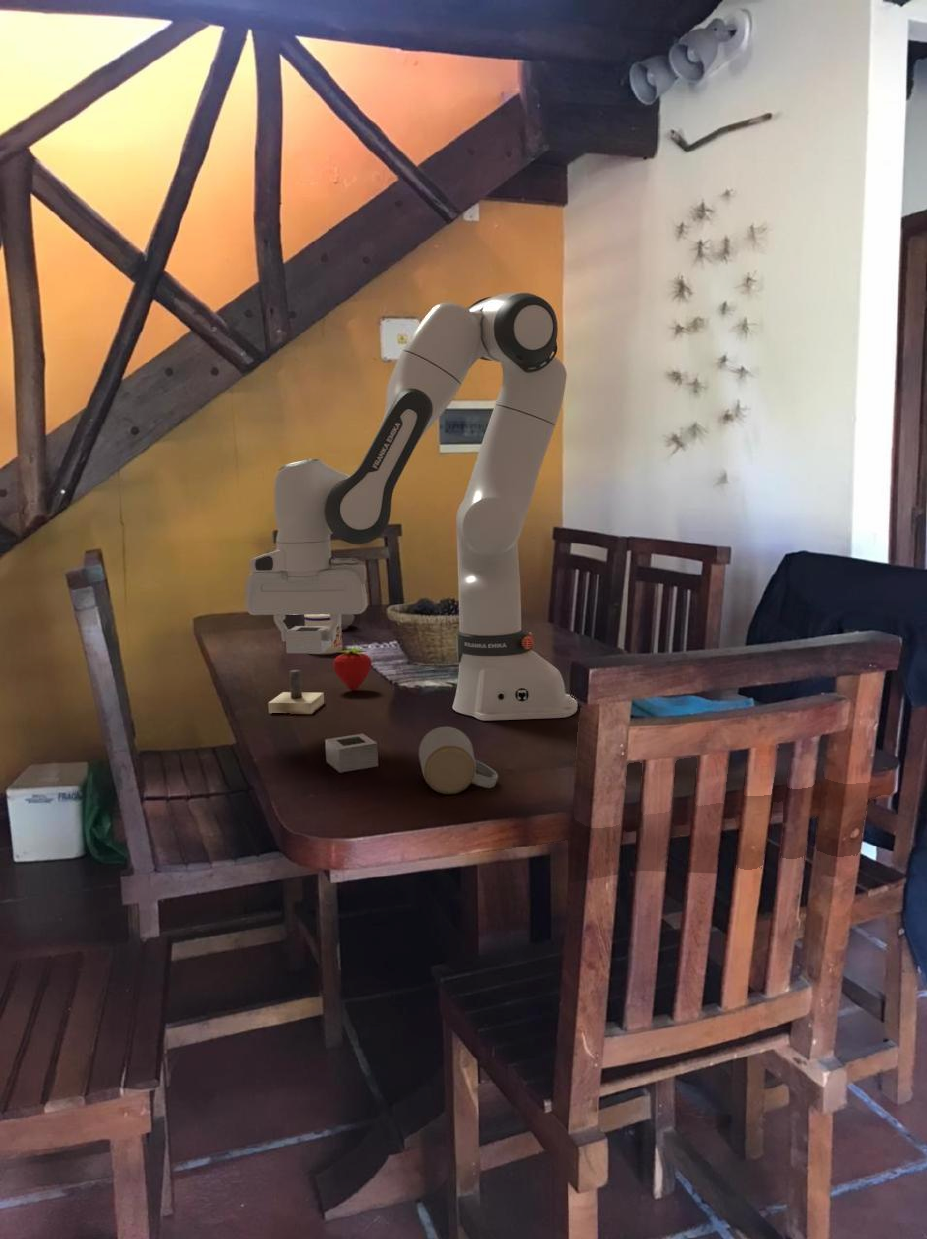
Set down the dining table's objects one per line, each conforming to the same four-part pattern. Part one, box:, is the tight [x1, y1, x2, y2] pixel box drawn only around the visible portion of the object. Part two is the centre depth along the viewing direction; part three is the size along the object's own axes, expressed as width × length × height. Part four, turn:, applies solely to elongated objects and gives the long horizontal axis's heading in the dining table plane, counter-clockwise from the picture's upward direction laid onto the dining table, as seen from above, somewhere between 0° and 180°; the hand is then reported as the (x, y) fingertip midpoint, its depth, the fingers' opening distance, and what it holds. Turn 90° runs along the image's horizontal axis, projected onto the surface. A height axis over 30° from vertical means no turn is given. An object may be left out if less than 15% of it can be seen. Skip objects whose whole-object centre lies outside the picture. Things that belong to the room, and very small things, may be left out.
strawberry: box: [332, 639, 372, 692], centre depth 191 cm, size 6×8×10 cm
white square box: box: [324, 733, 379, 774], centre depth 144 cm, size 6×6×4 cm
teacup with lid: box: [303, 614, 343, 655], centre depth 233 cm, size 12×9×12 cm
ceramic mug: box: [418, 726, 499, 795], centre depth 133 cm, size 11×8×8 cm
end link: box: [285, 625, 331, 654], centre depth 163 cm, size 6×6×4 cm
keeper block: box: [267, 669, 325, 715], centre depth 178 cm, size 8×8×7 cm
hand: (308, 640), depth 163 cm, fingers closed on end link, 6 cm apart
